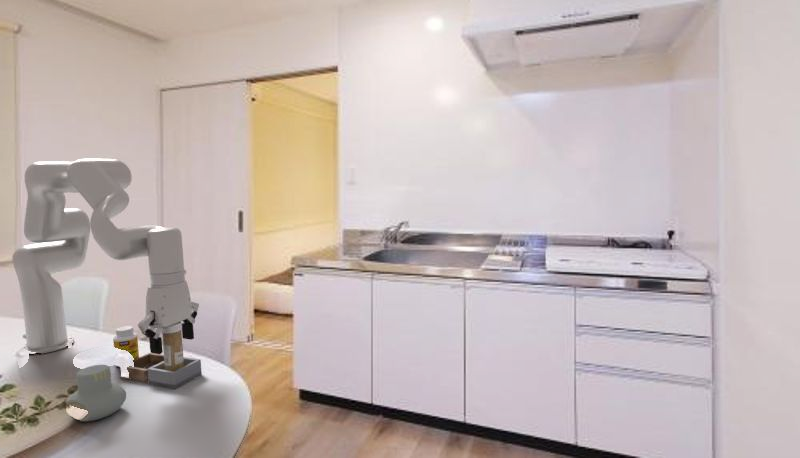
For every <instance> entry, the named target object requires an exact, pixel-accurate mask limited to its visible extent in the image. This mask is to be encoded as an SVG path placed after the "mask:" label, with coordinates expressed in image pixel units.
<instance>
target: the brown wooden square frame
mask: <svg viewBox="0 0 800 458" xmlns="http://www.w3.org/2000/svg"><path fill="white" fill-rule="evenodd" d="M163 361H164V354H163V353H161V354H155V353H151V352H148V353H146V354H144V355H141V356H139V358H137V359H135V360H133V362H134V367H132V366H129V367H127V370H128V372H129V378H131V379H130V380H131V381H132V380H134V381H138V382H144V383H149V381H148V368H147V367H150V366H154V365H156V364H159V363H161V362H163ZM144 367H145V368H144Z"/></svg>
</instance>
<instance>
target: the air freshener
mask: <svg viewBox="0 0 800 458" xmlns="http://www.w3.org/2000/svg"><path fill="white" fill-rule="evenodd" d="M111 375H112V374H111V368H110V366H109V365H107V364H95V365H94V364H93V365H91V366H87V367H85V368H81V369H80V370H79V371H78V372H77V373H76V383H77V384H76V385H77V390H76V391H75V392H74V393H72V394H71V395H70V396H69V398H68V399H67V400H66V402H65V404H66V403H67V404H69V405H71V406H74V407H77V408H80V409H84V410H87V411H88V414H87V415H86V416H85V417H84V418H83V419H81V420H80V421H79V422H86V423H87V422H94V421H98V420H101V419H103V418H106V417H108V416H111V415H112V414H113V413H115V412H116V411H117V410H119V409H120V408H121V407H122V406H123V404H124V403H125V401H126V399H127V392H126V390H125V388H124V387H123V386H122V385H120V384H118V383H116V382H112V376H111Z"/></svg>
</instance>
